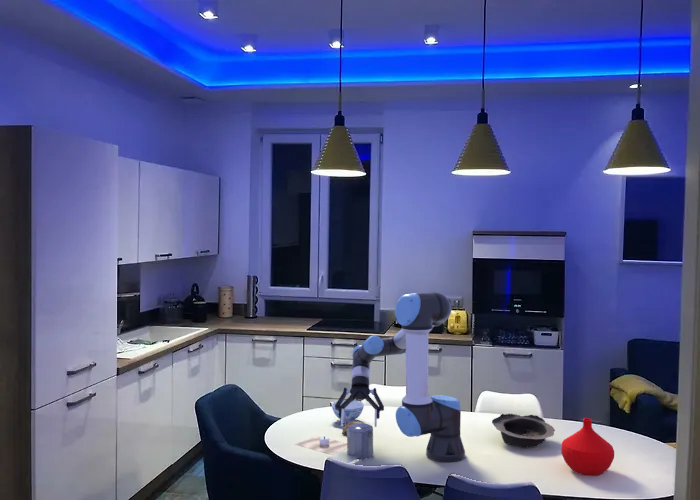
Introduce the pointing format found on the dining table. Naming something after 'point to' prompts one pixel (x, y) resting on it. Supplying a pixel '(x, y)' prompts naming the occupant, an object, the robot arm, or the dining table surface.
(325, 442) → the candle
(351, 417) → the chinaware
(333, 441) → the striped cloth
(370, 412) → the dining table surface
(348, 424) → the bread roll
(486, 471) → the dining table surface
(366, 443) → the steel tin
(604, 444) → the vase
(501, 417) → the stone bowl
